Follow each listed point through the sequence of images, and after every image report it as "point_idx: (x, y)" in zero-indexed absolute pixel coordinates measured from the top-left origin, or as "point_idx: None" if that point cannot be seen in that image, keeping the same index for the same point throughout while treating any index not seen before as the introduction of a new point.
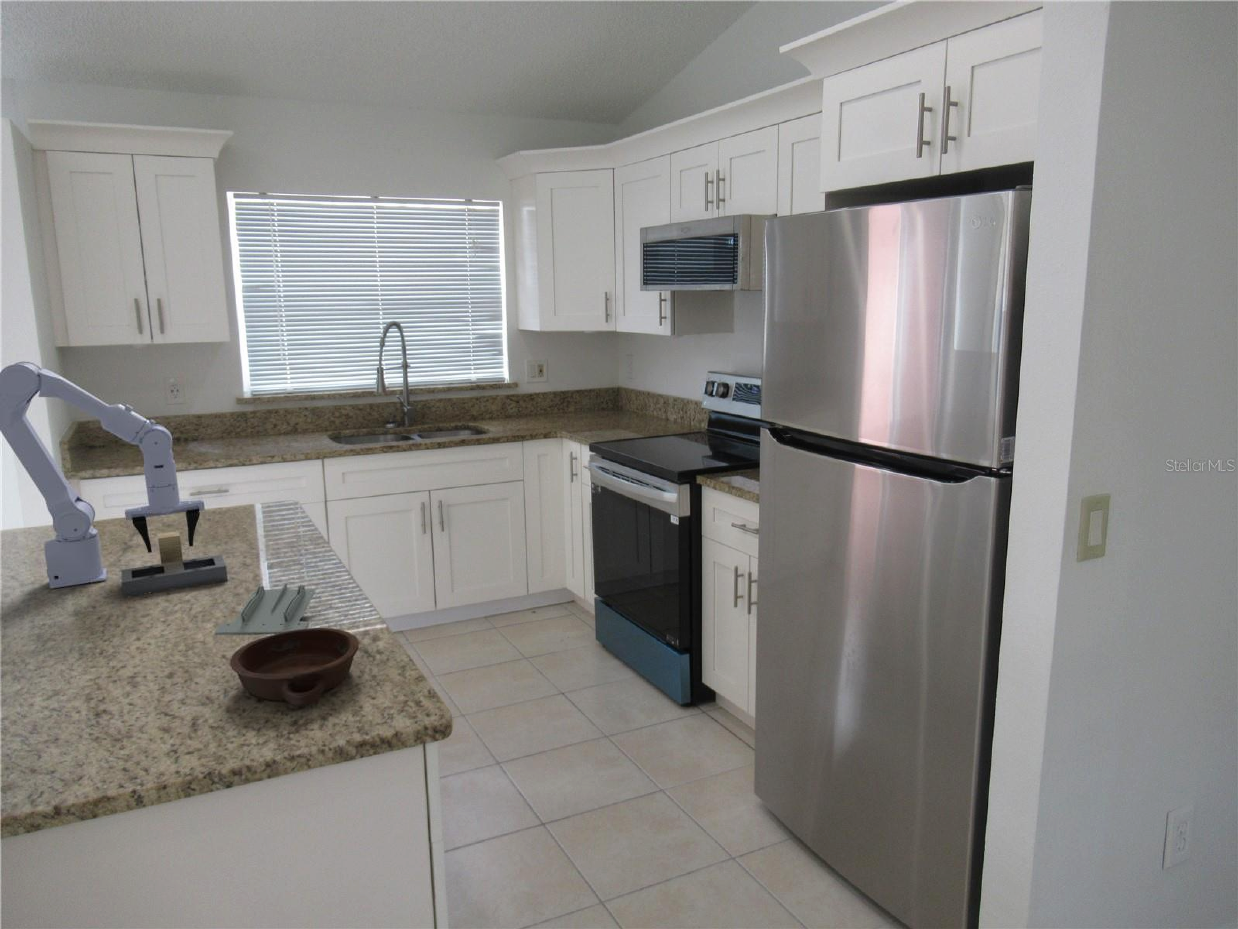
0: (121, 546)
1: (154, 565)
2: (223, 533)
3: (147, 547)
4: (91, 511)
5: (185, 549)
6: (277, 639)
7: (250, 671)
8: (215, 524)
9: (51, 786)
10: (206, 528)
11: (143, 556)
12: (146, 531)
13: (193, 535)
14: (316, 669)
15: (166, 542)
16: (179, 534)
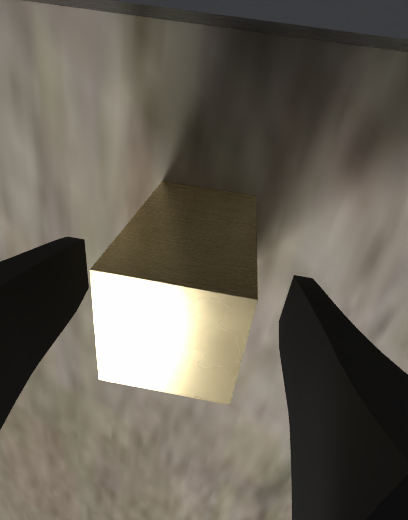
0: (278, 506)
1: (363, 6)
2: (33, 446)
3: (324, 294)
4: None
5: (133, 394)
6: None
7: None
8: (57, 502)
9: None
10: (76, 494)
11: (258, 412)
12: (363, 379)
13: (7, 259)
14: None
15: (202, 265)
16: (92, 297)
